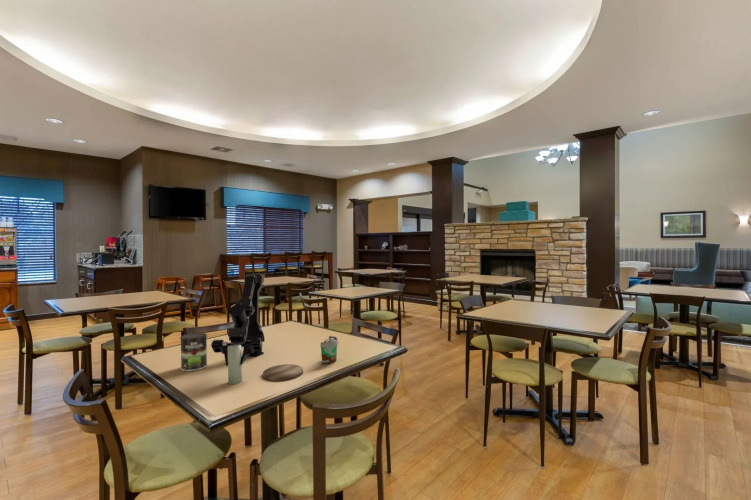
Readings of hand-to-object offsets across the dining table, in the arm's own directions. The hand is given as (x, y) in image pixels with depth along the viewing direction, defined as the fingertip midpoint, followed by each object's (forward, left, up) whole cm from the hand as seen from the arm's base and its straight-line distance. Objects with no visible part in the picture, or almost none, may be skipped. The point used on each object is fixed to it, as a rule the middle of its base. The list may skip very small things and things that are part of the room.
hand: (233, 364), depth 139 cm
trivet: (+10, +16, -7) cm, 20 cm away
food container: (+19, +38, -7) cm, 43 cm away
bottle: (-1, +1, -7) cm, 7 cm away
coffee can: (-31, +5, -7) cm, 32 cm away
